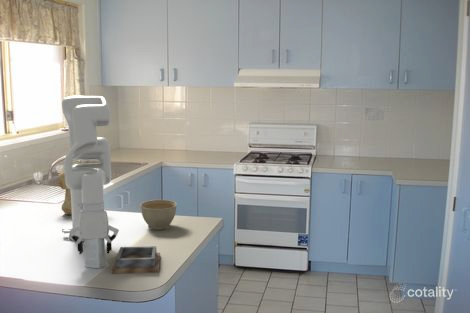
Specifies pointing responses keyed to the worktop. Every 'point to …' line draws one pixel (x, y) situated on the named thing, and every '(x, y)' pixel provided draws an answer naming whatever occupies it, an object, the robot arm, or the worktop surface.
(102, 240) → the skincare box
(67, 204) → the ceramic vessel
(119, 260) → the socket stand
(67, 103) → the robot arm
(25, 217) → the worktop surface
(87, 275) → the worktop surface
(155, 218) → the planter bowl
